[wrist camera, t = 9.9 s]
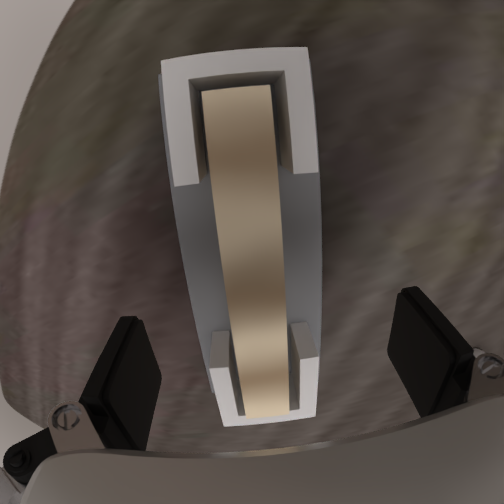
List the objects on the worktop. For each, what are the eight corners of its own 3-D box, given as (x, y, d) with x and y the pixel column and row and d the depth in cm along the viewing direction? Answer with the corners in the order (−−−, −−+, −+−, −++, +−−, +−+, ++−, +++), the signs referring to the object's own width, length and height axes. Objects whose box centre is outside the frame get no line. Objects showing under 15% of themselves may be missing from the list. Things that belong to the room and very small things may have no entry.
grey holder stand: (163, 78, 17) (138, 59, 12) (304, 65, 17) (328, 42, 12) (213, 381, 26) (210, 429, 20) (314, 369, 26) (329, 416, 21)
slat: (209, 102, 16) (201, 91, 12) (261, 97, 16) (270, 84, 12) (244, 376, 24) (246, 418, 19) (281, 372, 24) (289, 414, 19)
